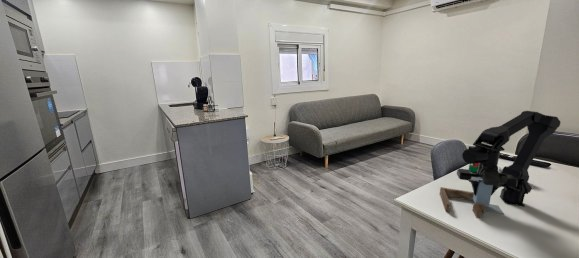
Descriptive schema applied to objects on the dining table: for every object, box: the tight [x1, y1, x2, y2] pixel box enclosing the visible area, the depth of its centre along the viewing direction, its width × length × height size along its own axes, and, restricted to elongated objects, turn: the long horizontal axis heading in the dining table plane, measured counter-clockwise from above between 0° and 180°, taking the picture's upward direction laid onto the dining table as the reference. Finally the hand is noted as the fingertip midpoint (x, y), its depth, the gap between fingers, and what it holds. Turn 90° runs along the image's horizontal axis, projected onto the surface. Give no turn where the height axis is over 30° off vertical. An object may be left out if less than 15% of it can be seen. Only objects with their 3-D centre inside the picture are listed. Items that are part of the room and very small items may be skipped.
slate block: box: [473, 178, 493, 206], centre depth 99 cm, size 4×4×10 cm
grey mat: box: [484, 203, 505, 215], centre depth 99 cm, size 6×6×1 cm
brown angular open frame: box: [439, 187, 485, 219], centre depth 101 cm, size 14×16×4 cm
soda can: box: [468, 163, 479, 173], centre depth 134 cm, size 5×5×12 cm
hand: (481, 195), depth 100 cm, fingers closed on slate block, 4 cm apart
